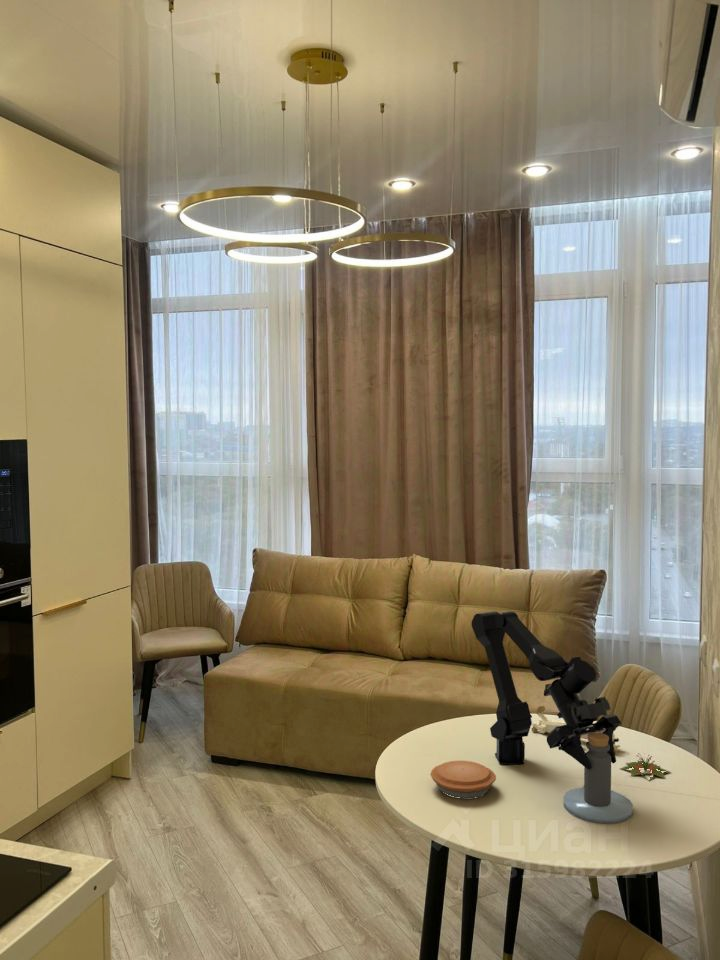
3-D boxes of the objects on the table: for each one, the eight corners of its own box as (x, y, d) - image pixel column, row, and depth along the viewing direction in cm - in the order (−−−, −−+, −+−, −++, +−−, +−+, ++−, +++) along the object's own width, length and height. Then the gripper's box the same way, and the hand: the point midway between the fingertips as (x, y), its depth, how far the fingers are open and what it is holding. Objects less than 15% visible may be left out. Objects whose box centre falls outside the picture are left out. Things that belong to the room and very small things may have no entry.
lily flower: (680, 775, 199) (681, 757, 199) (650, 787, 193) (651, 768, 193) (640, 759, 209) (640, 742, 209) (610, 770, 203) (610, 752, 203)
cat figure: (528, 739, 227) (609, 756, 209) (526, 708, 227) (607, 723, 209) (546, 730, 234) (627, 745, 216) (544, 700, 234) (625, 713, 216)
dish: (574, 824, 173) (575, 817, 173) (555, 793, 188) (555, 787, 188) (642, 822, 173) (643, 816, 173) (618, 792, 188) (618, 786, 188)
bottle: (615, 800, 181) (616, 735, 180) (603, 809, 177) (604, 742, 176) (591, 793, 185) (592, 729, 184) (579, 801, 181) (580, 736, 180)
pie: (450, 770, 201) (450, 751, 201) (506, 786, 192) (506, 765, 192) (418, 792, 189) (418, 771, 189) (477, 809, 180) (477, 788, 180)
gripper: (555, 692, 178) (590, 757, 169) (616, 680, 187) (652, 742, 178) (532, 716, 186) (564, 780, 177) (591, 703, 195) (624, 763, 185)
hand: (602, 765), depth 179 cm, fingers open, 7 cm apart
